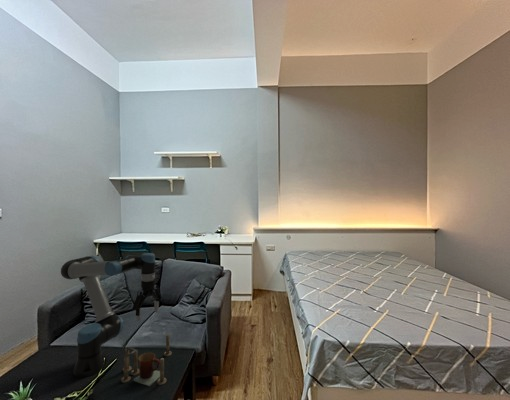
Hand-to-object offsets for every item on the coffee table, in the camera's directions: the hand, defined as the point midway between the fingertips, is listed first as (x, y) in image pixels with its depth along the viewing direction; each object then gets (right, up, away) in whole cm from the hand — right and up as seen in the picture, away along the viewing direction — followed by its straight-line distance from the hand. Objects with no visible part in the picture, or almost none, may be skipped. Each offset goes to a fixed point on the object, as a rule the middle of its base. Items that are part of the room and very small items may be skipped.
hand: (148, 316), depth 157 cm
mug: (+5, -28, -11) cm, 31 cm away
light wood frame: (-8, -29, -9) cm, 31 cm away
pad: (+5, -29, -11) cm, 31 cm away
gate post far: (+8, -29, +11) cm, 32 cm away
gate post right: (+13, -29, -14) cm, 35 cm away
